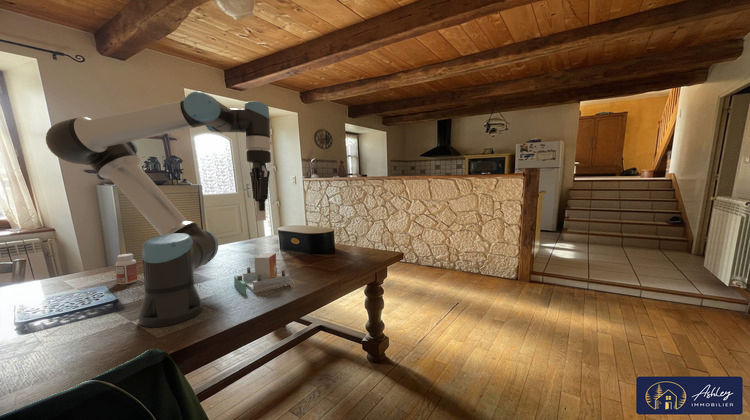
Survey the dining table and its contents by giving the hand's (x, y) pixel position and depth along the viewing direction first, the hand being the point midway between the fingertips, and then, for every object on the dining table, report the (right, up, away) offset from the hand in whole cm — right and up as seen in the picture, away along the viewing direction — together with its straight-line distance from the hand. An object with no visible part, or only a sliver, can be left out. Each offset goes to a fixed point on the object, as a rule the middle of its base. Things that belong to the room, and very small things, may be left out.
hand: (261, 220), depth 96 cm
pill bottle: (-60, -26, +15) cm, 67 cm away
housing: (-3, -25, +13) cm, 29 cm away
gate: (-10, -26, +7) cm, 29 cm away
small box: (-3, -25, +13) cm, 28 cm away
